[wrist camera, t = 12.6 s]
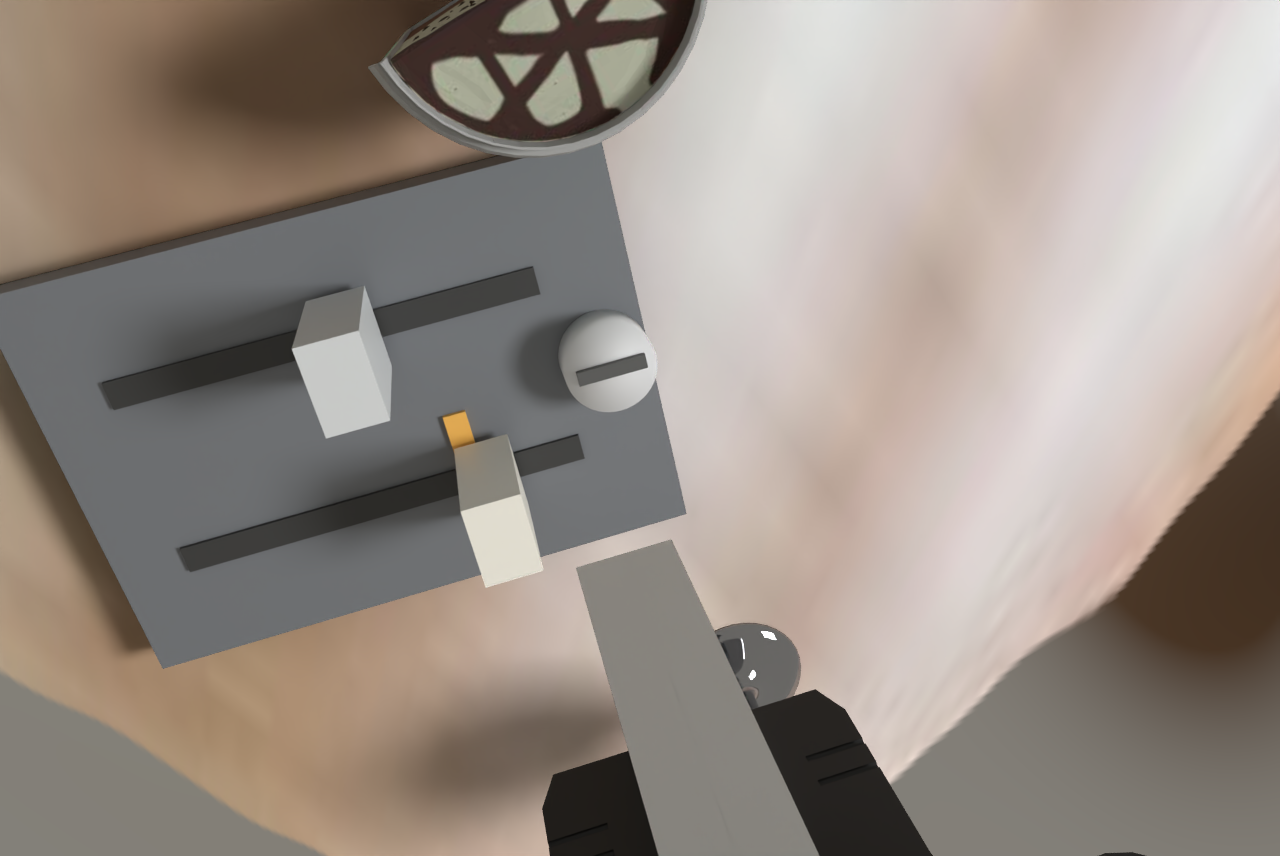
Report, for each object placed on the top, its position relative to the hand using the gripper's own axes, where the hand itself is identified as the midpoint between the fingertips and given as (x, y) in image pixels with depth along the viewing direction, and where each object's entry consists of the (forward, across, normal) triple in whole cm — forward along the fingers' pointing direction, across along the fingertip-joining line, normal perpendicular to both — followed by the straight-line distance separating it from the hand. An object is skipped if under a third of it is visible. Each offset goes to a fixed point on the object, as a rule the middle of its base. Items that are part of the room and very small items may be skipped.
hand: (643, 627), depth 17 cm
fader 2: (+30, -3, -11) cm, 32 cm away
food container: (+33, +4, +6) cm, 33 cm away
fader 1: (+30, -7, -3) cm, 31 cm away
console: (+32, -8, -7) cm, 34 cm away
